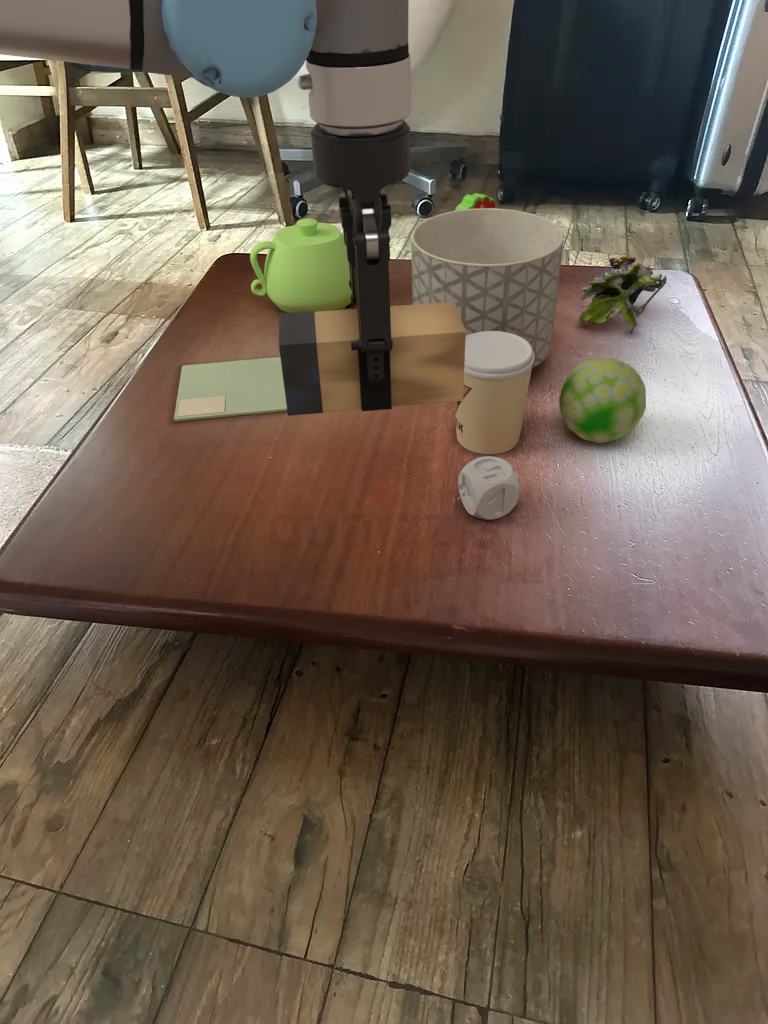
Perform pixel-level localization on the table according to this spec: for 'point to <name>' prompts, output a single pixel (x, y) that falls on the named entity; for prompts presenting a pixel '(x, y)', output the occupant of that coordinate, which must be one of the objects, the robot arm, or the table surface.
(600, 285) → the passion flower
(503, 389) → the coffee cup
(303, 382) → the beech block
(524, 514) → the table surface
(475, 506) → the die
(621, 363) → the decorative ball
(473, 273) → the planter
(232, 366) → the envelope
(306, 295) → the teapot
